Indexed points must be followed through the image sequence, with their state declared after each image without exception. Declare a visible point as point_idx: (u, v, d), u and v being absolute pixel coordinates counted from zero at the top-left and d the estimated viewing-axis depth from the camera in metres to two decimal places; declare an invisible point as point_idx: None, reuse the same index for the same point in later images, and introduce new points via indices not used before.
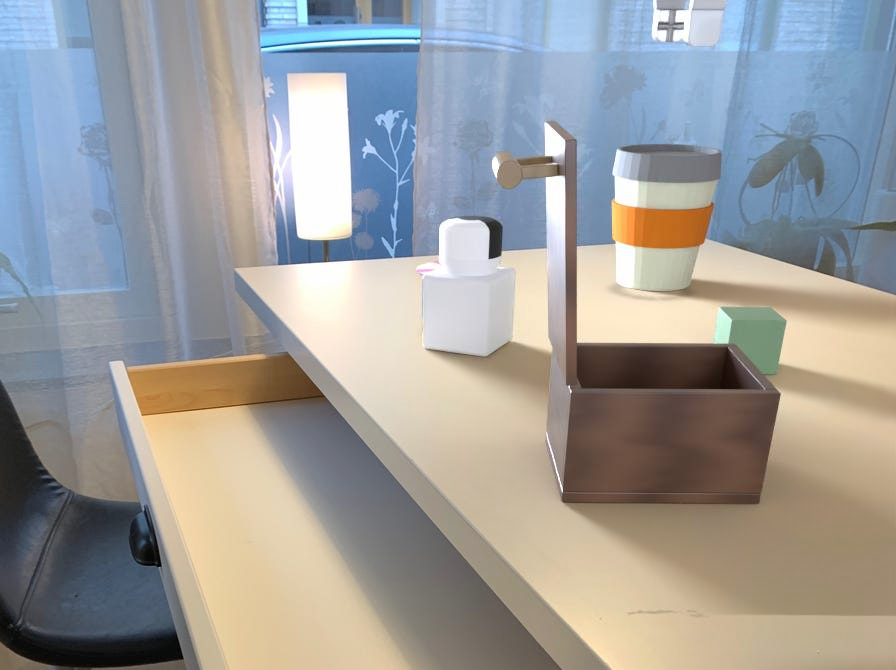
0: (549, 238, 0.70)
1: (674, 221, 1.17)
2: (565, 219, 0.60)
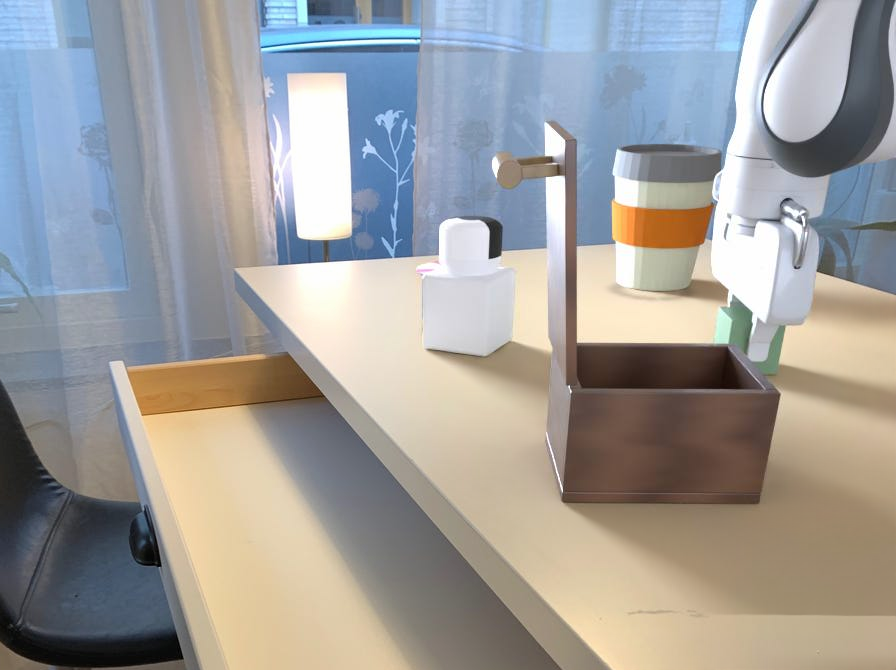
0: (549, 238, 0.70)
1: (674, 221, 1.17)
2: (565, 219, 0.60)
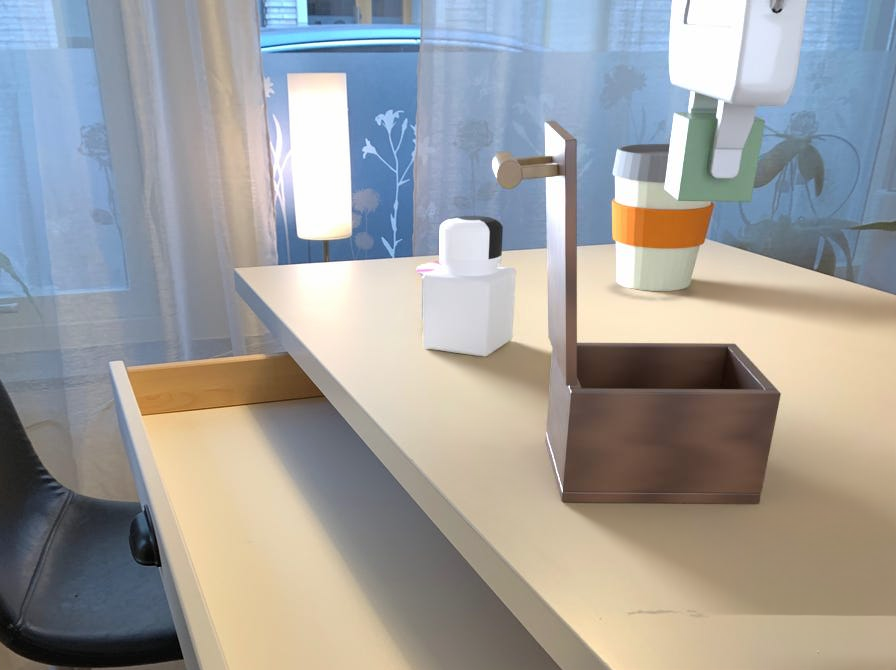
0: (549, 238, 0.70)
1: (674, 221, 1.17)
2: (565, 219, 0.60)
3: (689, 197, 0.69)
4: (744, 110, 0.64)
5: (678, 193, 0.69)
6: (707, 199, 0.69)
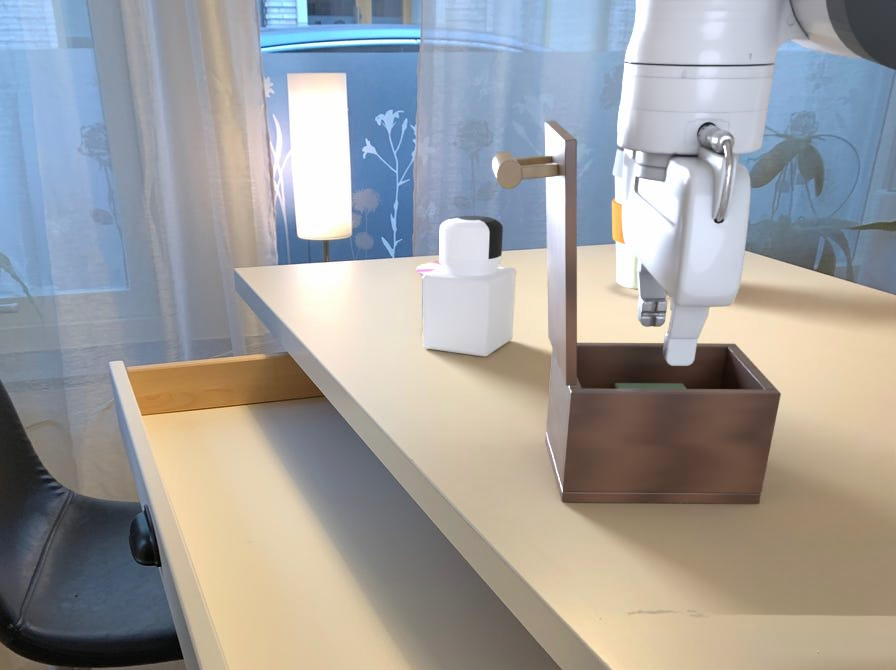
0: (549, 238, 0.70)
1: None
2: (565, 219, 0.60)
3: None
4: None
5: None
6: None
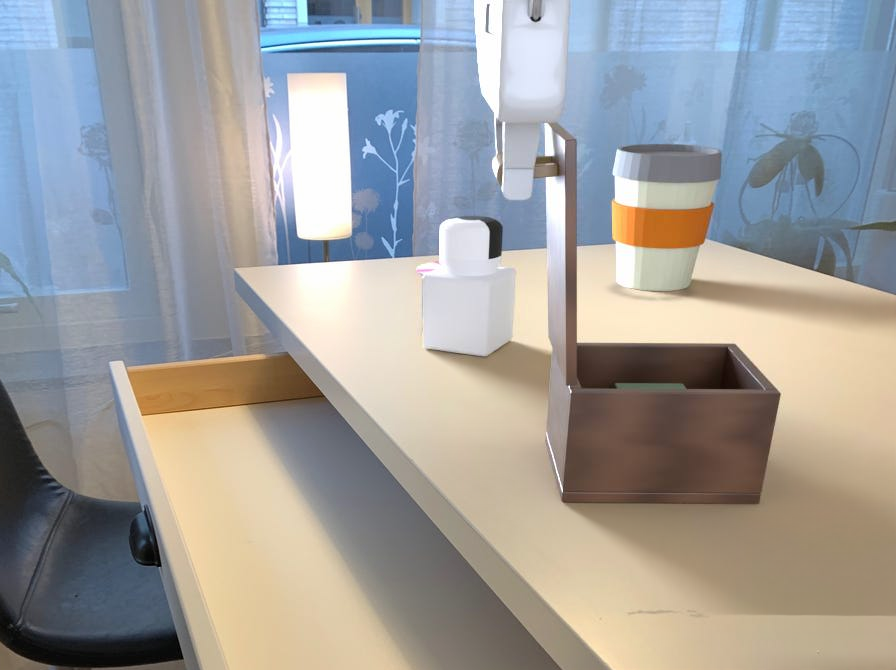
0: (549, 238, 0.70)
1: (674, 221, 1.17)
2: (565, 219, 0.60)
3: None
4: (528, 127, 0.59)
5: None
6: None
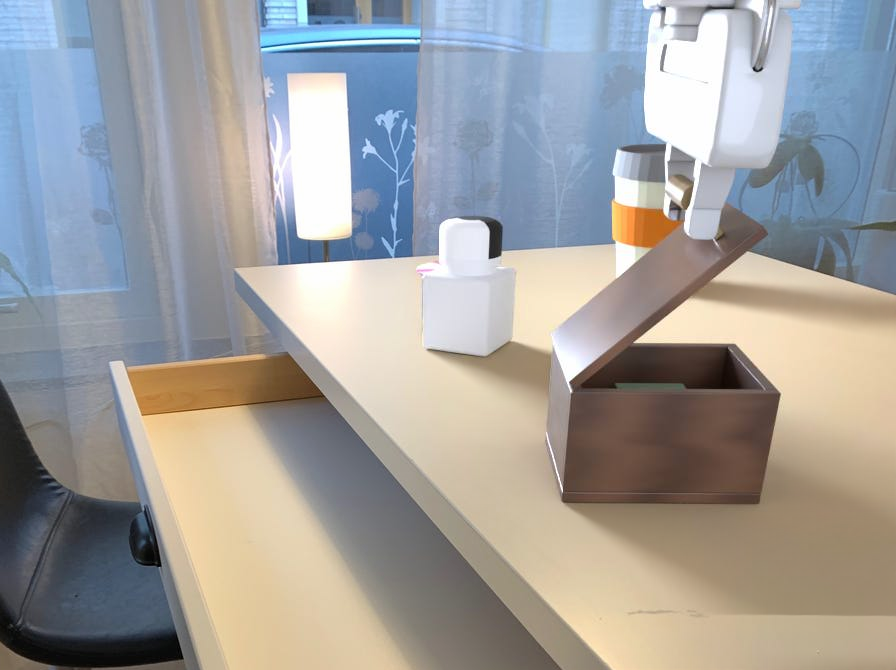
0: (636, 271, 0.71)
1: (674, 221, 1.17)
2: (701, 274, 0.62)
3: None
4: (723, 170, 0.60)
5: None
6: None
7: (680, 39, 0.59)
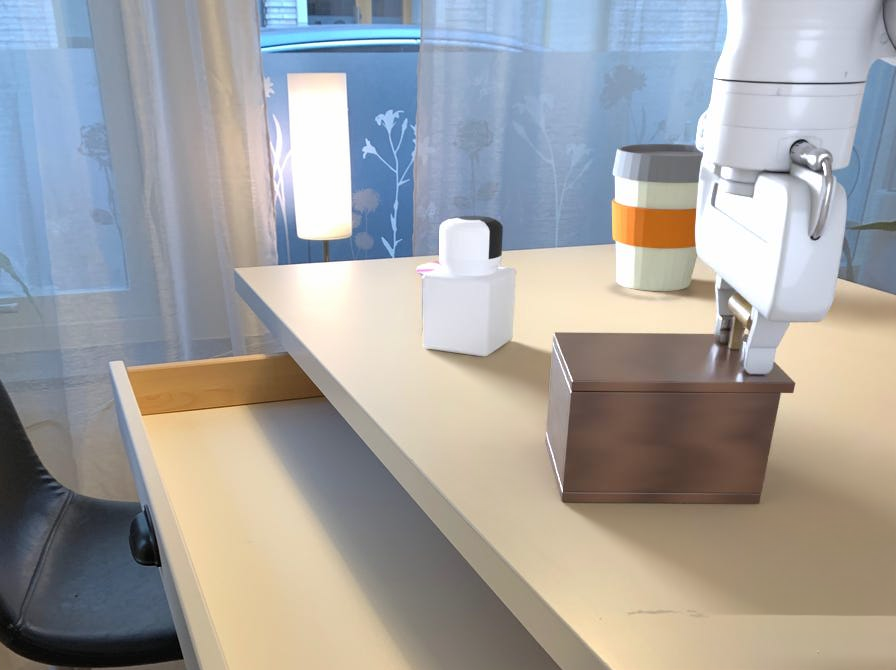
0: (657, 340, 0.74)
1: (674, 221, 1.17)
2: (728, 382, 0.66)
3: None
4: None
5: None
6: None
7: (737, 194, 0.63)
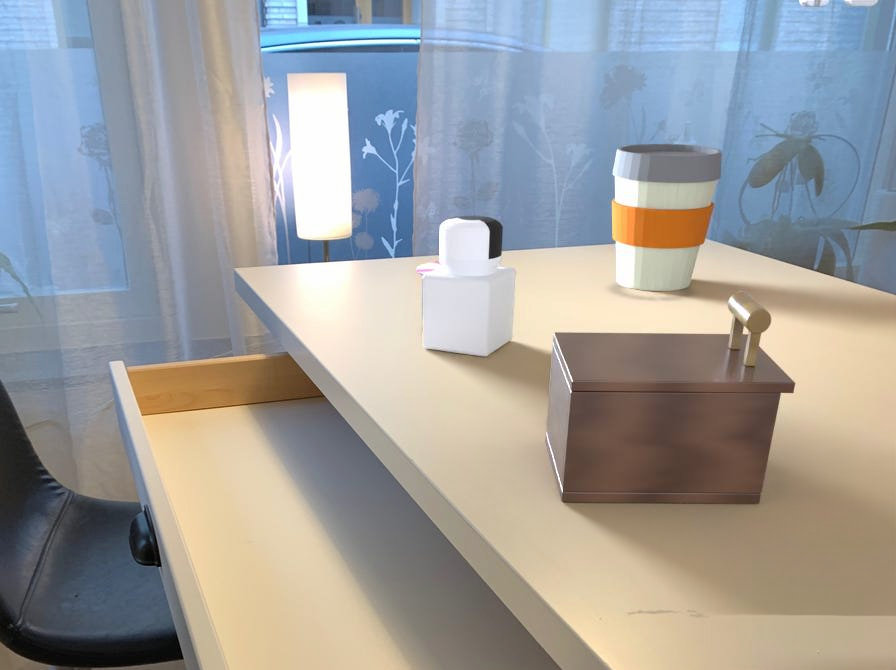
0: (657, 340, 0.74)
1: (674, 221, 1.17)
2: (728, 382, 0.66)
3: None
4: None
5: None
6: None
7: None
